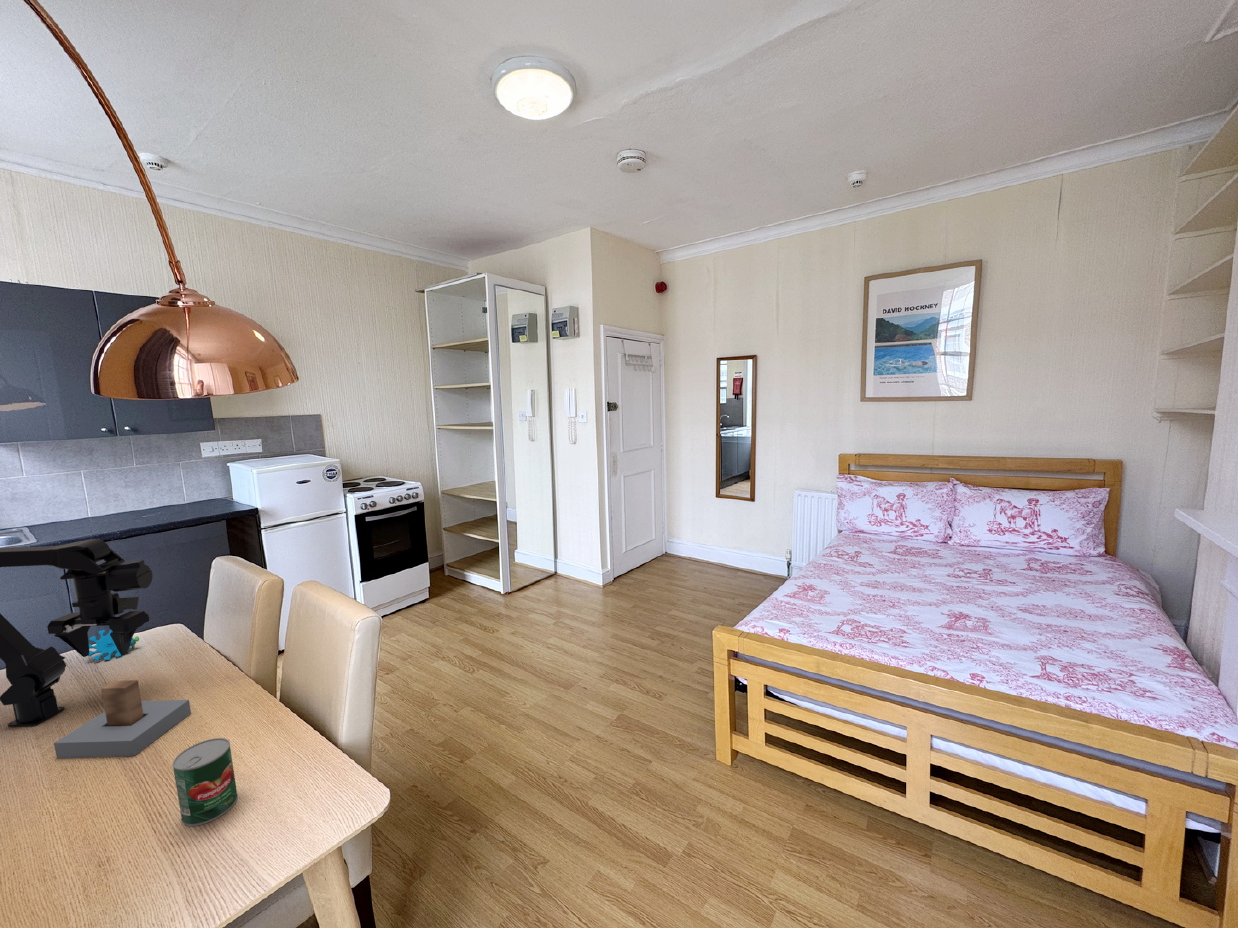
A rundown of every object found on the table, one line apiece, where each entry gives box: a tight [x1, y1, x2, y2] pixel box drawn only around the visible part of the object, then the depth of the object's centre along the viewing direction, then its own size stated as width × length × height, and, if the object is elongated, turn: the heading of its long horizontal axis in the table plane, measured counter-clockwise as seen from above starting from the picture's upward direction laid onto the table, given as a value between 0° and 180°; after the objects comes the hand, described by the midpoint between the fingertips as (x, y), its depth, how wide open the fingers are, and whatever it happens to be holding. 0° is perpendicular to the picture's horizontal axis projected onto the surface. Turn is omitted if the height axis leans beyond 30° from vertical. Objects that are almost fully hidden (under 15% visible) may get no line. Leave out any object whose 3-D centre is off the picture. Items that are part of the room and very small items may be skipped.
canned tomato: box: [171, 737, 239, 827], centre depth 89 cm, size 8×8×11 cm
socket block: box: [53, 699, 192, 759], centre depth 110 cm, size 16×14×4 cm
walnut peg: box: [100, 679, 144, 726], centre depth 109 cm, size 5×3×12 cm, turn 91°
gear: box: [87, 629, 140, 661], centre depth 146 cm, size 11×6×10 cm
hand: (105, 655), depth 119 cm, fingers open, 9 cm apart
